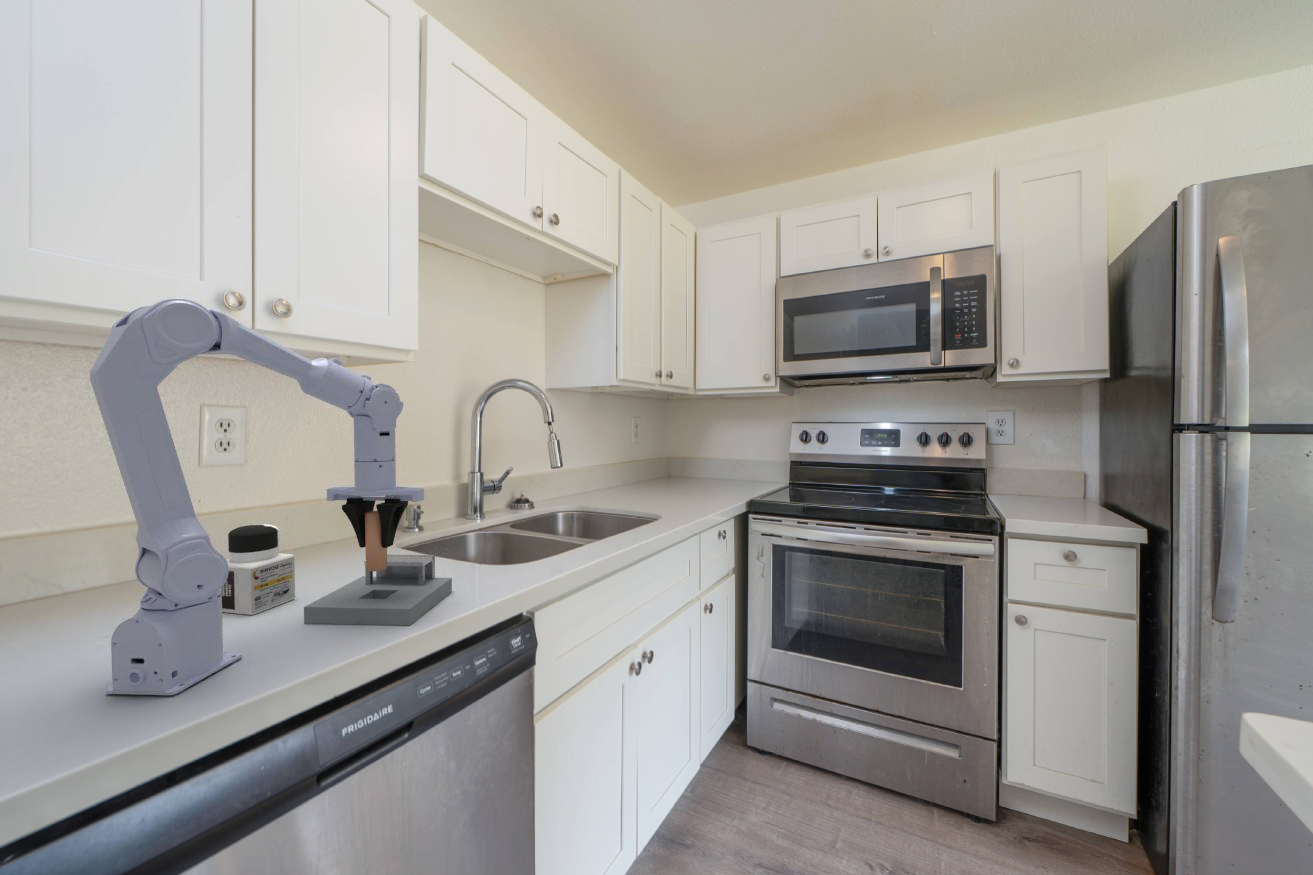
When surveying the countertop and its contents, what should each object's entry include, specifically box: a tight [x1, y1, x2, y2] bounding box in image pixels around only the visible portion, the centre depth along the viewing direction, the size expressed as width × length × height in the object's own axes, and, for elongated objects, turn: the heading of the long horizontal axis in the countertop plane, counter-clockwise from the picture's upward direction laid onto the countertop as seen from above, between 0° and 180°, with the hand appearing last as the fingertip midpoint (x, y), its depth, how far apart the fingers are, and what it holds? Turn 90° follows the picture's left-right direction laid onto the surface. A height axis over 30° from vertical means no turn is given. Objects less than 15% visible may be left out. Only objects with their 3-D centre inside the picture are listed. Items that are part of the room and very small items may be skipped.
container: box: [221, 523, 296, 616], centre depth 85 cm, size 8×8×13 cm
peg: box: [364, 510, 388, 573], centre depth 82 cm, size 3×3×9 cm
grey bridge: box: [363, 553, 436, 586], centre depth 90 cm, size 4×10×4 cm, turn 89°
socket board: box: [303, 575, 453, 626], centre depth 85 cm, size 15×16×2 cm
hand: (376, 546), depth 82 cm, fingers closed on peg, 3 cm apart
